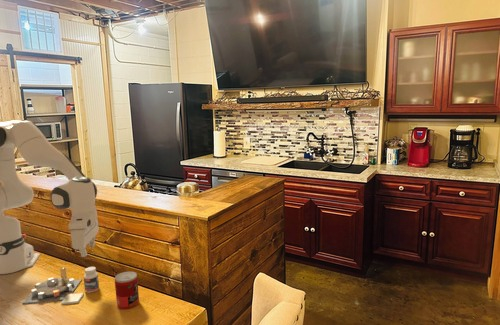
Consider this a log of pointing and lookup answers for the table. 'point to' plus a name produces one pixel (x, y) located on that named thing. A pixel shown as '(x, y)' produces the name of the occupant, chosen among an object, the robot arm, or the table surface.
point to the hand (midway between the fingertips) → (88, 251)
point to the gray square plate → (50, 299)
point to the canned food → (126, 290)
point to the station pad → (72, 298)
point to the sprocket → (53, 286)
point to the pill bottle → (91, 279)
